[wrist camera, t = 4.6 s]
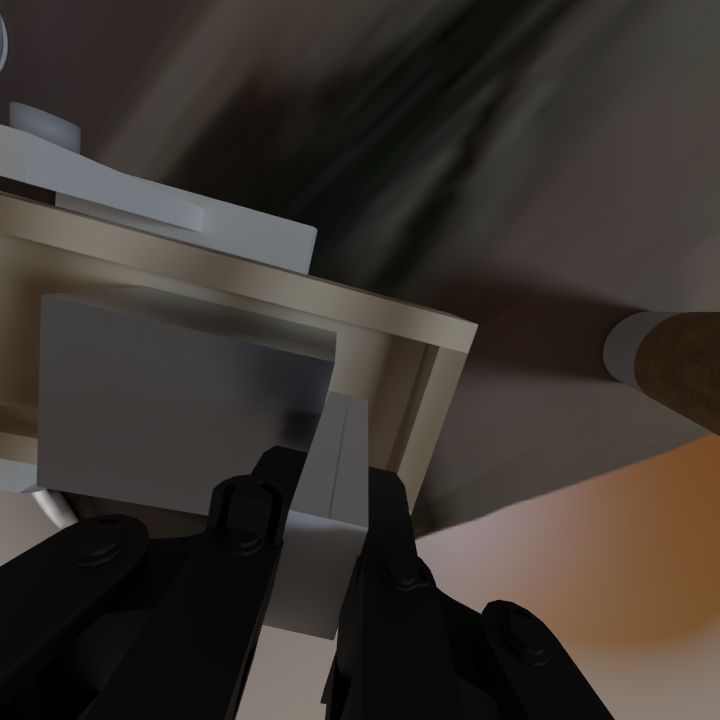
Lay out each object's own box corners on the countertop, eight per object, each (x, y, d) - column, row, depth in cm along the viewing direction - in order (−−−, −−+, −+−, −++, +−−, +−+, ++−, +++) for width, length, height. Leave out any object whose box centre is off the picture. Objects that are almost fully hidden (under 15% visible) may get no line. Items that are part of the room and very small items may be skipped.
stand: (64, 370, 28) (-223, 456, 14) (76, 159, 24) (-299, 4, 11) (274, 423, 29) (191, 553, 15) (317, 227, 25) (259, 165, 11)
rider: (133, 417, 15) (36, 486, 10) (146, 286, 14) (41, 294, 9) (307, 452, 16) (293, 530, 11) (336, 332, 15) (335, 362, 10)
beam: (-383, 325, 15) (-638, 344, 11) (-452, 68, 12) (-808, -24, 9) (391, 483, 19) (404, 536, 15) (448, 313, 17) (480, 325, 13)
